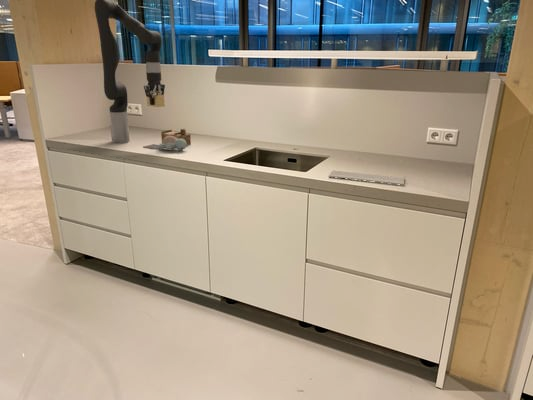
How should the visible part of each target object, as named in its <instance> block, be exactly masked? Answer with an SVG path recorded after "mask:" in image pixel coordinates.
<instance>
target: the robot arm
mask: <svg viewBox="0 0 533 400" xmlns="http://www.w3.org/2000/svg"><path fill="white" fill-rule="evenodd" d="M94 13H95V18H96V22H97V26H98V28H97V29H98V33H99V40H100V52H101V59H102V69H103V91H104V95H105V97H106V98H107V100H110V101H113V104H111V105H110V106H109V115H110V125H109V127H110V134H111V142H113V143H118V144H120V143H121V144H122V143H123V144H124V143H128V142H130V130H129V121H128V119H129V118H128V105H129V104H128V89H127V87H126V85H125V84H124V83H122V82H119V81H116V72H117V68H118V66H119V62H120V57H121V56H120V46H119V43H118V40H117V38H116V36H115V34H113V31H112V29H111V25H110V19H111V20H112V19H113V20H115V21H118V22H120V23H121V24H122V25H123V27H124V28H125V29H126V30H127V31H128V32H129V33H131V34H133V35H134V36H135V37H137V39H138V40H139V41H140V42H141V43H142V44H145V45H146V46H149V49H147V50H146V51H145V62H146V63H145V69H146V70H145V72H146V73H145V74H146V75H145V76H146V81H147V84H146V85H143V90H144V93H145V96H146V98H147V97H149V98H150V105H154V98H153V97H154V94H159V95H164V96H165V87H166V86H165V84H162V82H161V81H162V69H161V68H162V67H161V56H160V54H161V53H160V52H161V48H162V44H163V43H162V42H163V41H162V40H163V39H162V36H161V34H160V32H159V31H157V30H149V29H147V27H146V25H145V24H144V23H142V22H140V21H139V20H137V19H136V18H135V17H132V16H131V15H130V14H129V13H128V12H127V11H125V10H124V8H122V7H121V6H120V5H119V4H118V3H117V2H116V1H115V0H95V2H94ZM151 94H152V95H151Z"/></svg>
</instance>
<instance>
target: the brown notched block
mask: <svg viewBox="0 0 533 400" xmlns="http://www.w3.org/2000/svg"><path fill="white" fill-rule="evenodd" d="M167 136H174V137H176V138H177V139H184V140H185V141H186V143H187V146H190V145H191V144H192V141H191V139H192V138H191V133H187V132H186V128H180V131H179V132H178V131H173V130H172V129H167V130H163V131H161V143H162V142H163V139H164V138H165V137H167Z"/></svg>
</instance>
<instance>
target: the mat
mask: <svg viewBox="0 0 533 400" xmlns="http://www.w3.org/2000/svg"><path fill="white" fill-rule="evenodd" d="M159 145H160V144H155V143H154V144H149V145H144V146H143V148H144V149H152V150H158V146H159Z"/></svg>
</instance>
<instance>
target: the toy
mask: <svg viewBox="0 0 533 400" xmlns="http://www.w3.org/2000/svg"><path fill="white" fill-rule="evenodd" d="M158 145H159V146H158V149H157V150H158V151H162V150H164V149H166V150H173V149H176V150H177V151H180V152H181V151H183V150H185V149H186V148H187V146H188V145H187V143H186V141H185V140H184V139H177V138H176V137H174V136H167V137H165V138H164V139H163V142H162V141H161V144H158Z"/></svg>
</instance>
